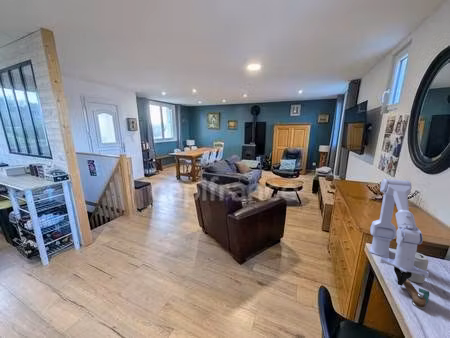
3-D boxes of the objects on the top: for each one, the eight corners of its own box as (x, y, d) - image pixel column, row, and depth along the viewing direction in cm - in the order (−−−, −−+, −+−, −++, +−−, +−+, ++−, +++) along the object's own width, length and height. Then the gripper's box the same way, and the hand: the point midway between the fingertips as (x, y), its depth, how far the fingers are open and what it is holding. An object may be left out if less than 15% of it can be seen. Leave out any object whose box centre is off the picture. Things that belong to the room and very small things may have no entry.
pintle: (411, 299, 73) (413, 289, 73) (424, 304, 71) (426, 294, 70) (412, 305, 71) (414, 295, 70) (425, 311, 68) (428, 301, 68)
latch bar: (426, 308, 69) (428, 302, 68) (415, 305, 70) (416, 299, 69) (409, 285, 79) (410, 279, 79) (400, 283, 81) (401, 277, 80)
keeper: (417, 297, 74) (419, 287, 73) (426, 301, 72) (429, 291, 72) (417, 299, 73) (419, 290, 72) (427, 303, 71) (429, 293, 71)
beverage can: (428, 285, 80) (433, 261, 78) (410, 283, 81) (415, 259, 79) (416, 274, 86) (421, 251, 84) (400, 272, 87) (404, 250, 85)
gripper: (382, 253, 79) (377, 280, 81) (432, 269, 69) (425, 299, 71) (382, 245, 84) (378, 271, 86) (429, 259, 74) (423, 288, 77)
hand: (399, 283), depth 79 cm, fingers closed
